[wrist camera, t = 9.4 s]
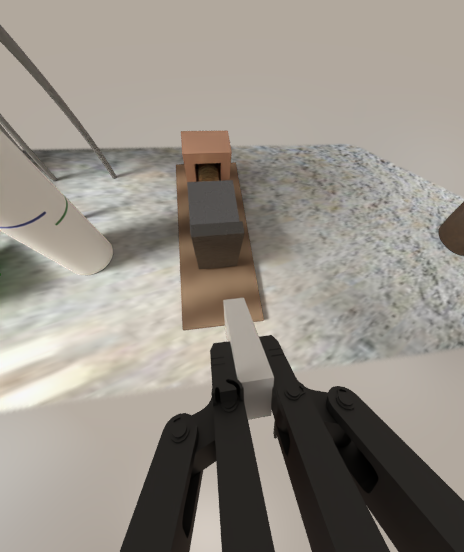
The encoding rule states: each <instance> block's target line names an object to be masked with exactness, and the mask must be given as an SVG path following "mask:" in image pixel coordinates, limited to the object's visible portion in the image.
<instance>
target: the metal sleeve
mask: <svg viewBox="0 0 464 552" xmlns="http://www.w3.org/2000/svg"><path fill="white" fill-rule="evenodd" d="M187 187H188V203H189V218H190V234H191V225H195V224H210V223H225V222H240V221H239V215H238V209H237V203H236V197H235V190H234V184H233V180H224V181H202V182H187ZM191 239H192V237H191ZM192 243H193V242H192ZM193 247H194V246H193ZM194 252H195V250H194ZM195 256H196V255H195Z"/></svg>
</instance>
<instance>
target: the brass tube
mask: <svg viewBox="0 0 464 552" xmlns="http://www.w3.org/2000/svg"><path fill="white" fill-rule="evenodd" d="M196 165H197V168H198V175H199V182H202V181H219V177H218V169H217V167H218V163H204V164H196ZM191 237H192V242H193V246H194V250H195V255H196V259H197V263H198V268H199V269H209V268H220V267H231V266H237V263H238V259H239V255H240V251H241V246H242V242H243V238H244V227H243V221H240V222H225V223H210V224H195V225H191Z"/></svg>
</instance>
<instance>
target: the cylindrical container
mask: <svg viewBox="0 0 464 552" xmlns="http://www.w3.org/2000/svg"><path fill="white" fill-rule="evenodd" d="M0 231H1V232H3V233H5V234H7V235H8V236H10V237H12V238H14V239H15V240H17V241H19V242H21V243H22V244H24V245H26V246H28V247H29V248H31V249H33V250H35V251H37V252H38V253H40V254H42V255H44V256H45V257H47V258H49V259H51V260H52V261H54V262H56V263H58V264H60V265H61V266H63V267H65V268H67V269H68V270H70V271H72V272H74V273H76V274H79V275H91V274H94V273H97V272H99V271H101V270H102V269H104V268H105V267H106V266H107V265H108V264H109V262H110V261H111V259H112V256H113V248H112V245H111V243H110V242H109V241H108V240H107V239H106V238H105V237H104V236H103V235H102V234H101V233H100V232H99V231H98V230H97V229H96V228H95V227H94V226H93V225H92V224H91V223H90V222H89V221H88V220H87V219H86V218H85V217H84V215H83V214H82V213H81V212H80V211H79V210H78V209H77V208H76V207H75V206H74V205H73V204H72V203H71V202H70V201H69V200H68V199H67V198H66V197H65V196H64V195H63V194H62V193H61V192H60V191H59V190H58V189H57V188H56V187H55V186H54V185H53V184H52V183H51V181H50V180H49V179H48V178H47V177H46V176H45V175H44V174H43V173H42V172H41V171H40V170H39V169H38V168H37V167H36V166H35V165H34V164H33V163H32V162H31V161H30V160H29V159H28V158H27V157H26V156H25V155H24V154H23V153H22V152H21V151H20V150H19V149H18V147H17V146H16V145H15V144H14V143H13V142H12V141H11V140H10V139H9V138H8V137H7V136H6V135H5V134H4V133H3V132H2V131H1V130H0Z"/></svg>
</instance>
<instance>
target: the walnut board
mask: <svg viewBox="0 0 464 552" xmlns="http://www.w3.org/2000/svg"><path fill="white" fill-rule="evenodd" d="M176 179H177V203H178V227H179V251H180V276H181V300H182V324H183V330H191V329H199V328H208V327H216V326H224V325H225V318H224V303H223V300H227V299H237V298H244V299H245V302H246V305H247V307H248V310H249V313H250V315H251V318H252V320H253V322H256V321H263V320H264V318H263V313H262V307H261V301H260V296H259V290H258V285H257V279H256V274H255V268H254V262H253V257H252V251H251V246H250V240H249V234H248V229H247V223H246V218H245V212H244V207H243V201H242V195H241V190H240V184H239V179H238V173H237V167H236V163H231V167H230V180H233V184H234V190H235V197H236V203H237V209H238V215H239V221H243V227H244V238H243V242H242V246H241V251H240V255H239V259H238V263H237V266H231V267H220V268H209V269H199V268H198V263H197V259H196V256H195V252H194V247H193V243H192V239H191V234H190V218H189V203H188V187H187V177H186V172H185V166H184V164H179V165H176Z"/></svg>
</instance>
